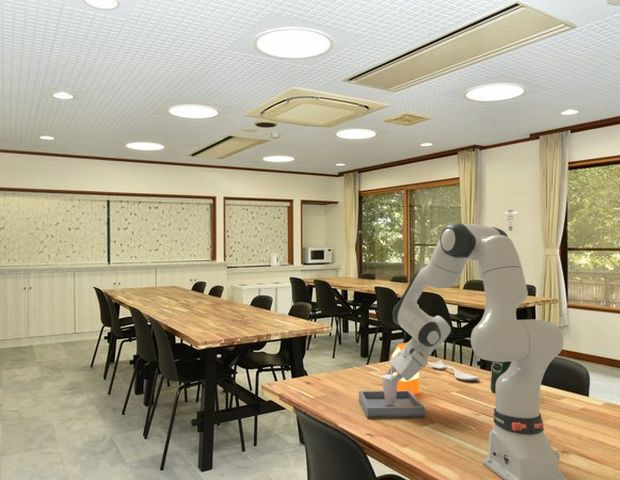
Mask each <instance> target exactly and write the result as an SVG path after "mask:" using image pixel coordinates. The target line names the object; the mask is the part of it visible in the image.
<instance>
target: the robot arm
mask: <svg viewBox="0 0 620 480" xmlns="http://www.w3.org/2000/svg"><path fill="white" fill-rule="evenodd" d="M468 260H471V261H478V262H479V266H480V271H481V278H482V283H483V289H484V296H485V307H484V312H483V315H482V318H481V319H480V320H479V322H478V323H477V324H476V326H474V327H473V329H472V331H471V334H470V344H471V348H472V350H473V352H474V354H475V356H477V357H478V358H479V359H480V360H484V361H489V362H492V361H495V362H508V361H512V362H511V365H510V367H509V368H508V370H507V371H506V372H505V373H503V374H502V375H501V376H499V377H498V379H497V381H496V393H495V407H494V409H493V423H494V426H493V427H492V429H491V430H490V431H489V433H488V447H487V457H485V458H483V459H482V464H483V465H484V466H485V467H487V468H488V469H489V470H491V471H492V472H494V473H495V474H496V475H498V476H499V477H500V478H501V479H503V480H568V479H567V477H566V476H565V475H564V474H563V472H562V471H561V470H560V468H559V467H560V465H559V460H560V457H561V456H560V453H559V451H558V450H553V447H552V446H551V441H550V440H548V438H547V437H546V435H545V433H544V430H545V427H544V425H545V424H544V421H543V417H542V414H541V413H540V402H541V399H540V398H541V386H542V381H543V378H544V376H545V372H546V370H547V369H548V367H549V365H550V364H551V362H552V361H553V360H554V359H555V358H556V357H557V356H558V355H559V354H560V353H561V352H562V350H563V348H564V336H563V335H564V334H563V333H562V331H561V329H560V328H559V327H558V325H557V324H556V323H554V322H552V321H548V320H543V319H536V318H535V319H517V308H518V307H519V306H521V305H522V304H523V303H524V302H525V301H526V300H527V298H528V295H529V293H528V287H527V284H526V279H525V275H524V270H523V265H522V261H521V260H520V256H519V252H518V251H517V248H516V246H515V244H514V242H513V240H512V239H511V238H510V237H509V236H508V234H507V233H506V232H505V231H504V230H502V229H500V228H498V227H495V226H487V225H481V224H478V223H461V222H459V223H457V222H455V223H450V224H448V225H446V226H445V227H444V228H443V230H442V232H441V235H440V239H439V241H438V242H437V244H436V246H435V248H434V250H433V252H432V253H431V257H430V260H429V261H428V263H427V265H423V266H421V267H419V269H418V270H416V272H415V273H414V275H413V277H412V278H411V280H410V282H409V284H408V285H407V288H406V289H405V290H404V293H403V295H402V296H401V298H400V300H398V302H397V303H396V304H395V305H394V307H393V310H392V321H393V322H394V323H395V324H396V325H398V326H399V327H400V328H402V329H403V330H404V331H405V332H406V333H407V334H408V335H409V336H411V339H410V340H409V341H407V342H406V343H407V344H406V345H405V346H404V347H403V349H404V350H403V349H402V350H400V351H399V352H398V353H397V354H396V355H395V356H394V357H393V358H392V359H391V358H390V360H389V362H388V363H389V364H390V367H389V369H388V370H387V372H386V373H385V374H384V375H387V374H391V365H393V373H394V372H396V370H397V372H398V373H397V374H396V375H395V376H394V377H393V378H391V379H390V380H389V382H390V383H391V384H392V385H394V384H395V383H396V382H397V381H399V380H401V379H402V378H404V379H405V380H406V381H408V380H410V379H411V378H412V377H413V376H414V375H416V374H417V373H418V372H419V373H420V371H421V370H422V368H425V367H427V365H428V364H427V362H428V358H429V357H430V356H431V355H432V353H433V351H435V350H437V349H438V348H439V347H440V346H441V345H442V344H443V343H444V342H445V341H446V339H447V338H448V336H449V335H450V334H451V330H452V329H451V326H450V324H449V322H447V320H446V319H445V318H444V317H442V316H440V315H436V316H432V315H428V313H426V312H425V311H424V310H422V308H420V307H419V305H418V300H419V299H420V296H421V295H422V294H423V292H424V290H425V289H426V287H432V288H434V289H447V288H451V287H453V286H454V285H457V283H458V281H459V280H460V278H461V276H462V273H463V271H464V269H465V265H466V263H467V261H468Z"/></svg>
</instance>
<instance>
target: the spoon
mask: <svg viewBox="0 0 620 480" xmlns="http://www.w3.org/2000/svg"><path fill="white" fill-rule="evenodd" d="M427 365H429V366H430V367H432V368H434V369H438V370H443V369H447V368H448V369H449V370H451V371H454V376H455V377H456V378H457V379H459V380H461V381H465V382H466V381H467V382H471V381H475V380H478V379H479V378H480V377H479V376H476V375H472V374H470V373H466V372H463V371H460V370H458V369H457V368H456V367H454V366H450V365H445V363H443V361H442V360H441V359H439V360H438V361H435V362H430V361H427Z"/></svg>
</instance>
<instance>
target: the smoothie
mask: <svg viewBox="0 0 620 480" xmlns="http://www.w3.org/2000/svg"><path fill="white" fill-rule="evenodd" d="M390 367H391V374H387V375H385V374H383V375H381V378H380V379H381V380H382V387H383V388H382V389H383V391H384V397H385V403H386V404H389V405H393V404H395V403H396V395H397V386H398V381H397V382H396V383H395V384H394V385H392V384H391V383H390V382H389V380H390V379H391V378H393V377H394V376H395V375H393V365H391V364H390Z"/></svg>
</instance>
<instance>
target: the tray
mask: <svg viewBox="0 0 620 480" xmlns="http://www.w3.org/2000/svg"><path fill="white" fill-rule="evenodd" d="M358 401H359V404H360V406H361V407H362V410H363V412H364V414H365V416H366V418H367V419H408V418H410V419H413V418H415V419H416V418H419V419H420V418H426V412H425V411H426V407H425V405H423V403H422V402H421V401H420V400H419V399H418V397H417V396H416V394H413V393H412V392H411V391H410V390H407V391H397V395H396V403H395V404H393V405H389V404H386V403H385V397H384V390H359V391H358Z"/></svg>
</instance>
